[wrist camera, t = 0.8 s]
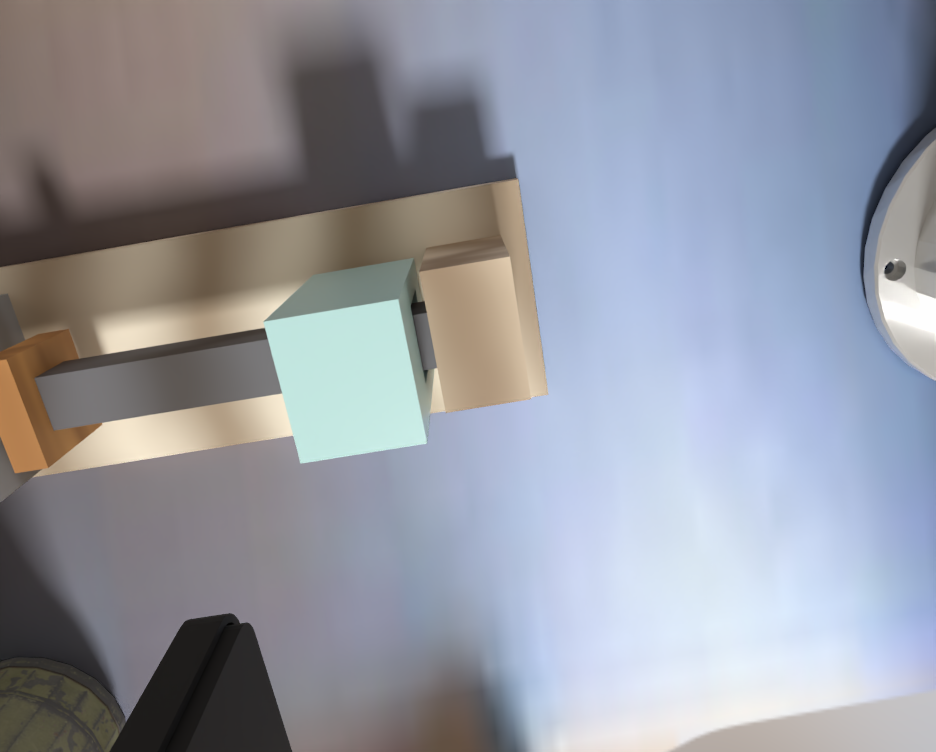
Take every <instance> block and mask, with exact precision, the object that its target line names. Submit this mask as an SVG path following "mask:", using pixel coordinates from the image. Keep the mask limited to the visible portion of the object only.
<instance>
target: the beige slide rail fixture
mask: <svg viewBox="0 0 936 752" xmlns="http://www.w3.org/2000/svg"><path fill="white" fill-rule="evenodd" d="M410 258H414V262H415V267H416V273H417V278H418V283H419V288H420V294H421V299H422V302H416V303H411V311H412V316H413V321H414V326H415V331H416V336H417V342H418V347H419V352H420V357H421V362H422V367H423V370H429V369H435V371H434V381H433V391H432V401H431V410H430V413H436V412H442V411H445V412H446V413H448V412H454V411H460V410H467V409H473V408H479V407H485V406H492V405H498V404H504V403H510V402H516V401H523V400H529V399H531V397H536V396H542V395H548V389H547V382H546V375H545V367H544V360H543V353H542V346H541V339H540V332H539V324H538V317H537V310H536V303H535V296H534V289H533V281H532V274H531V267H530V260H529V253H528V246H527V239H526V231H525V224H524V217H523V210H522V203H521V196H520V188H519V181H518V179H517V178H513V179H508V180H502V181H496V182H490V183H484V184H479V185H473V186H467V187H461V188H456V189H450V190H444V191H438V192H432V193H427V194H421V195H415V196H409V197H403V198H398V199H392V200H386V201H380V202H375V203H369V204H363V205H357V206H351V207H346V208H340V209H334V210H328V211H323V212H317V213H311V214H305V215H299V216H294V217H288V218H282V219H276V220H270V221H265V222H259V223H253V224H247V225H241V226H236V227H230V228H224V229H218V230H213V231H207V232H201V233H195V234H189V235H184V236H178V237H172V238H166V239H161V240H155V241H149V242H143V243H137V244H132V245H126V246H120V247H114V248H108V249H103V250H97V251H91V252H85V253H80V254H74V255H68V256H62V257H56V258H51V259H45V260H39V261H33V262H27V263H22V264H16V265H10V266H4V267H0V502H2V501H3V500H4V499H5V498H7V497H8V496H9V495H10V494H12V493H13V492H14V491H15V490H17V489H18V488H19V487H20V486H22V485H23V484H24V483H25V482H27V481H28V480H29V479H30V478H32V477H37V476H44V475H50V474H56V473H62V472H69V471H75V470H81V469H87V468H93V467H100V466H106V465H112V464H118V463H125V462H131V461H137V460H143V459H150V458H156V457H162V456H168V455H174V454H181V453H187V452H193V451H199V450H206V449H212V448H218V447H224V446H231V445H237V444H243V443H249V442H255V441H262V440H268V439H274V438H280V437H287V436H293V432H292V429H291V425H290V421H289V417H288V413H287V410H286V406H285V402H284V398H283V394H282V391H281V387H280V383H279V379H278V376H277V372H276V368H275V364H274V360H273V357H272V353H271V349H270V345H269V341H268V338H267V334H266V330H265V326H264V321H265V320H266V319H267V318H268V317H269V316H270V315H271V314H272V313H273V312H274V311H275V310H276V309H277V308H278V307H280V306H281V305H282V304H283V303H284V302H285V301H286V300H287V299H288V298H289V297H290V296H291V295H292V294H293V293H294V292H296V291H297V290H298V289H299V288H300V287H301V286H302V285H303V284H304V283H305V282H306V281H307V280H308V279H309V278H310V277H312V276H313V275H315V274H321V273H327V272H333V271H339V270H345V269H351V268H357V267H363V266H368V265H374V264H380V263H386V262H392V261H398V260H404V259H410Z"/></svg>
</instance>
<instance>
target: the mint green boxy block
mask: <svg viewBox="0 0 936 752" xmlns="http://www.w3.org/2000/svg"><path fill="white" fill-rule="evenodd" d="M416 302H422V299H421V294H420V288H419V283H418V278H417V273H416V267H415V262H414V258H410V259H404V260H398V261H392V262H386V263H380V264H374V265H368V266H363V267H357V268H351V269H345V270H339V271H333V272H327V273H321V274H315V275H313V276H312V277H310V278H309V279H308V280H307V281H306V282H305V283H304V284H303V285H302V286H301V287H300V288H299V289H298V290H297V291H296V292H294V293H293V294H292V295H291V296H290V297H289V298H288V299H287V300H286V301H285V302H284V303H283V304H282V305H281V306H280V307H278V308H277V309H276V310H275V311H274V312H273V313H272V314H271V315H270V316H269V317H268V318H267V319H266V320H265V321H264V326H265V330H266V334H267V338H268V341H269V345H270V349H271V353H272V357H273V360H274V364H275V368H276V372H277V376H278V379H279V383H280V387H281V391H282V394H283V398H284V402H285V406H286V410H287V413H288V417H289V421H290V425H291V429H292V432H293V436H294V440H295V444H296V448H297V451H298V455H299V459H300V463H307V462H313V461H320V460H326V459H332V458H338V457H345V456H351V455H357V454H364V453H370V452H376V451H383V450H389V449H395V448H401V447H408V446H414V445H420V444H427V440H428V430H429V420H430V410H431V401H432V391H433V381H434V371H435V369H429V370H423V367H422V362H421V357H420V352H419V347H418V342H417V336H416V331H415V326H414V321H413V316H412V311H411V303H416Z"/></svg>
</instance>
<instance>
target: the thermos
mask: <svg viewBox="0 0 936 752" xmlns="http://www.w3.org/2000/svg"><path fill="white" fill-rule="evenodd" d="M125 724H126V723H125V717H124V715H123V713H122V711H121V710H120V708H119V706H118V704H117V702H116V700H115V698H114V697H113V696H112V695H111V694H110V693H109V692H108V691H107V690H106V689H105V688H104V687H103V686H102V685H101V684H100V683H99V682H98V681H97V680H96V679H94V678H93V677H91V676H89V675H87V674H85V673H84V672H82V671H80V670H78V669H77V668H75V667H73V666H71V665H68V664H64V663H60V662H57V661H53V660H50V659H46V658H25V657H16V658H12V659H8V660H4V661H0V752H109V751H110V750H111V748H112V746H113V744H114V743H115V741H116V739H117V737H118V736H119V734H120V732H121V730H122V729H123V727H124V725H125Z"/></svg>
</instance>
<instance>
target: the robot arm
mask: <svg viewBox="0 0 936 752" xmlns="http://www.w3.org/2000/svg"><path fill="white" fill-rule="evenodd" d="M887 264H888V267H887V269H886V270H885V266H886V265H887ZM884 270H885V271H884ZM863 277H864V284H865V291H866V298H867V304H868V306H869V309H870V312H871V315H872V317H873V320H874V323H875V325H876V328H877V329H878V331H879V332H880V334H881V335H882V337H883V338H884V340H885V341H886V343H887V344H888V346H889V347H890V349H891V350H892V351H894V352H895V353H896V354H897V355H898V356H899V357H900V358H901V359H902V360H903V361H904V362H905V363H906V364H907V365H909V366H910V367H912V368H914V369H915V370H917V371H919V372H921V373H922V374H924V375H926V376H927V377H929V378H931V379H933V380H935V381H936V128H935V129H933V130H932V131H931V132H930V133H928V134H927V135H926V136H925V137H924V138H923V139H922V140H921V142H920V143H919V144H918V145H917V146H916V147H915V148H914V149H913V151H912V152H911V153H910V154H909V155H908V156H907V157H906V158H905V159H904V161H903V162H902V163H901V165H900V167H899V168H898V170H897V171H896V173H895V174H894V176H893V177H892V179H891V181H890V182H889V184H888V185H887V187H886V188H885V190H884V193H883V195H882V197H881V199H880V202H879V204H878V206H877V209H876V211H875V213H874V215H873V218H872V221H871V225H870V230H869V234H868V238H867V242H866V246H865V258H864V276H863ZM109 752H292V750H291V747H290V744H289V740H288V737H287V734H286V731H285V728H284V725H283V721H282V718H281V715H280V712H279V709H278V705H277V702H276V699H275V696H274V693H273V689H272V686H271V683H270V680H269V677H268V673H267V670H266V667H265V664H264V661H263V657H262V654H261V651H260V648H259V645H258V641H257V638H256V635H255V632H254V630H253V627H252V626H251V625H250V624H249V623H241V624H240V623H239V620H238V619H237V617H236V616H235V615H233V614H231V613H229V614H222V615H216V616H209V617H203V618H196V619H190V620H187V621H185V622H184V623H183V625H182V626H181V627H180V629H179V631H178V633H177V634H176V636H175V638H174V640H173V641H172V643H171V645H170V647H169V648H168V650H167V652H166V654H165V655H164V657H163V659H162V661H161V662H160V664H159V666H158V668H157V669H156V671H155V673H154V675H153V676H152V678H151V680H150V682H149V683H148V685H147V687H146V689H145V690H144V692H143V694H142V696H141V697H140V699H139V701H138V703H137V704H136V706H135V708H134V710H133V711H132V713H131V715H130V717H129V718H128V720H127V722H126V724H125V725H124V727H123V729H122V730H121V732H120V734H119V736H118V737H117V739H116V741H115V743H114V744H113V746H112V748H111V750H110V751H109Z"/></svg>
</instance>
